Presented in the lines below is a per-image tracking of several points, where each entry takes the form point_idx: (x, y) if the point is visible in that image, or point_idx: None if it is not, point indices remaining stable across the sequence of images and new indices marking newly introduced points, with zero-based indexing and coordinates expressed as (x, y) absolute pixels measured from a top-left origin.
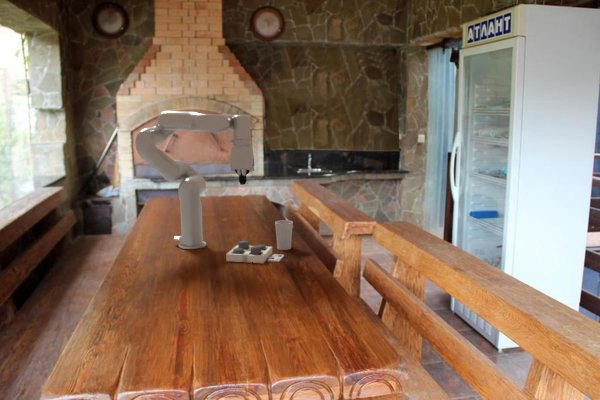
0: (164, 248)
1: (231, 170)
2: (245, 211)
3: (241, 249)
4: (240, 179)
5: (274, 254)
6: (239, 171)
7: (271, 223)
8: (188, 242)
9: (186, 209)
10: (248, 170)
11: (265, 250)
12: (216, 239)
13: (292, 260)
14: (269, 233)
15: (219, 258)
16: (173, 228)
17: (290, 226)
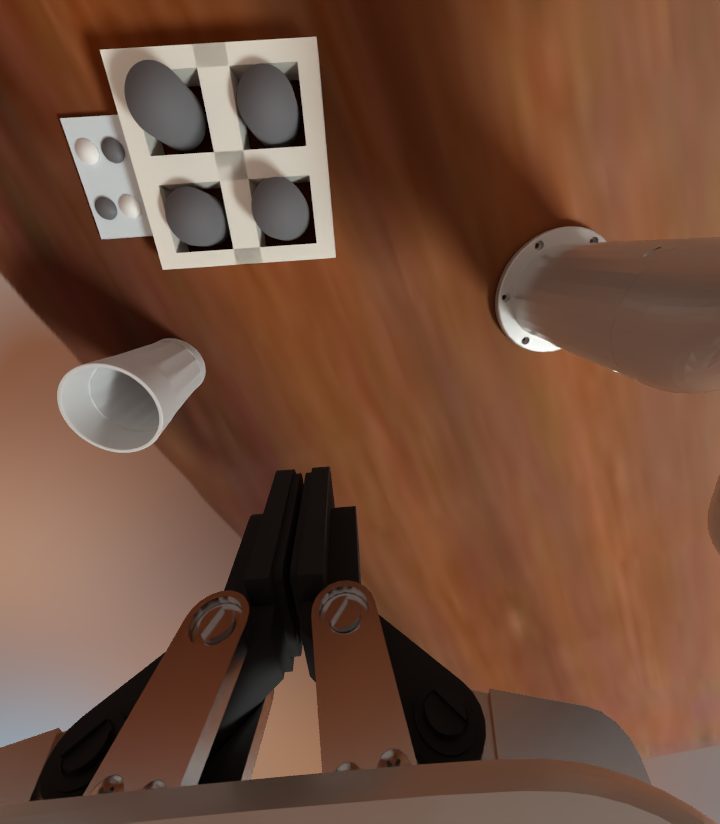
0: (668, 217)
1: (588, 713)
2: None
3: (252, 110)
4: (315, 517)
5: (143, 230)
6: (331, 691)
7: None
8: (576, 243)
9: None
10: (54, 775)
11: (155, 186)
12: (479, 411)
13: (26, 172)
14: None
15: (370, 104)
16: (667, 501)
17: (72, 386)
